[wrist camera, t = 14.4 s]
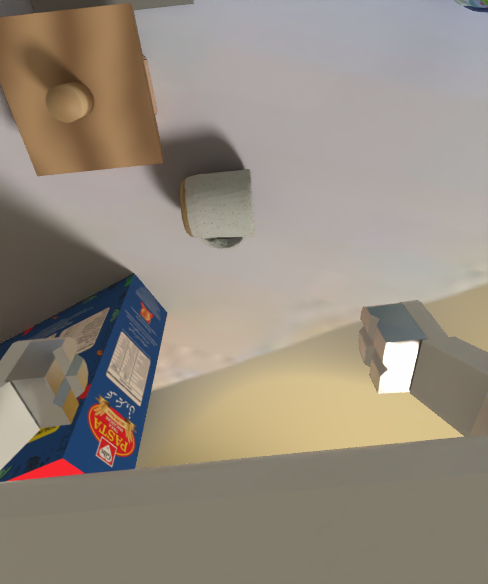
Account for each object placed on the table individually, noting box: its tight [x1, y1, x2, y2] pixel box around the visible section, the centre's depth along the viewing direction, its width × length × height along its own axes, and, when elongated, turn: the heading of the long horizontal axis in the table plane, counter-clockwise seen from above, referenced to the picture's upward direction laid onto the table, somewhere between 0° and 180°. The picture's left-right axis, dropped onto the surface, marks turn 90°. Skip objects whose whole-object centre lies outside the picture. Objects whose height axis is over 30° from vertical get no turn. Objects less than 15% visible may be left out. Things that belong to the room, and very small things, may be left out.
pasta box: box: [0, 274, 167, 482], centre depth 45 cm, size 28×8×28 cm, turn 118°
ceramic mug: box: [180, 169, 255, 249], centre depth 44 cm, size 11×8×8 cm
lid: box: [0, 3, 164, 176], centre depth 33 cm, size 13×13×5 cm
